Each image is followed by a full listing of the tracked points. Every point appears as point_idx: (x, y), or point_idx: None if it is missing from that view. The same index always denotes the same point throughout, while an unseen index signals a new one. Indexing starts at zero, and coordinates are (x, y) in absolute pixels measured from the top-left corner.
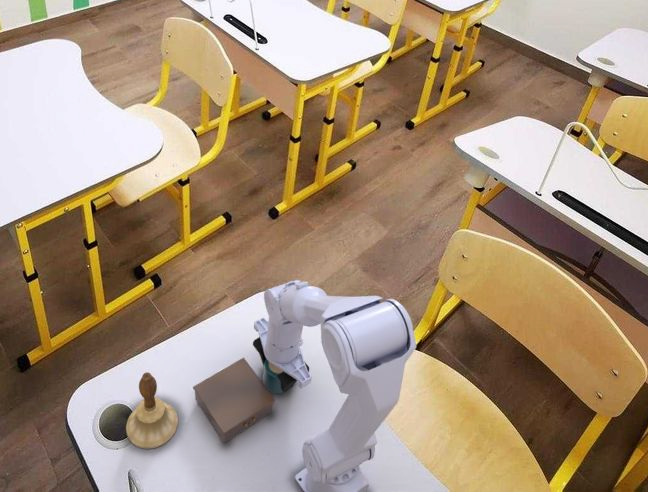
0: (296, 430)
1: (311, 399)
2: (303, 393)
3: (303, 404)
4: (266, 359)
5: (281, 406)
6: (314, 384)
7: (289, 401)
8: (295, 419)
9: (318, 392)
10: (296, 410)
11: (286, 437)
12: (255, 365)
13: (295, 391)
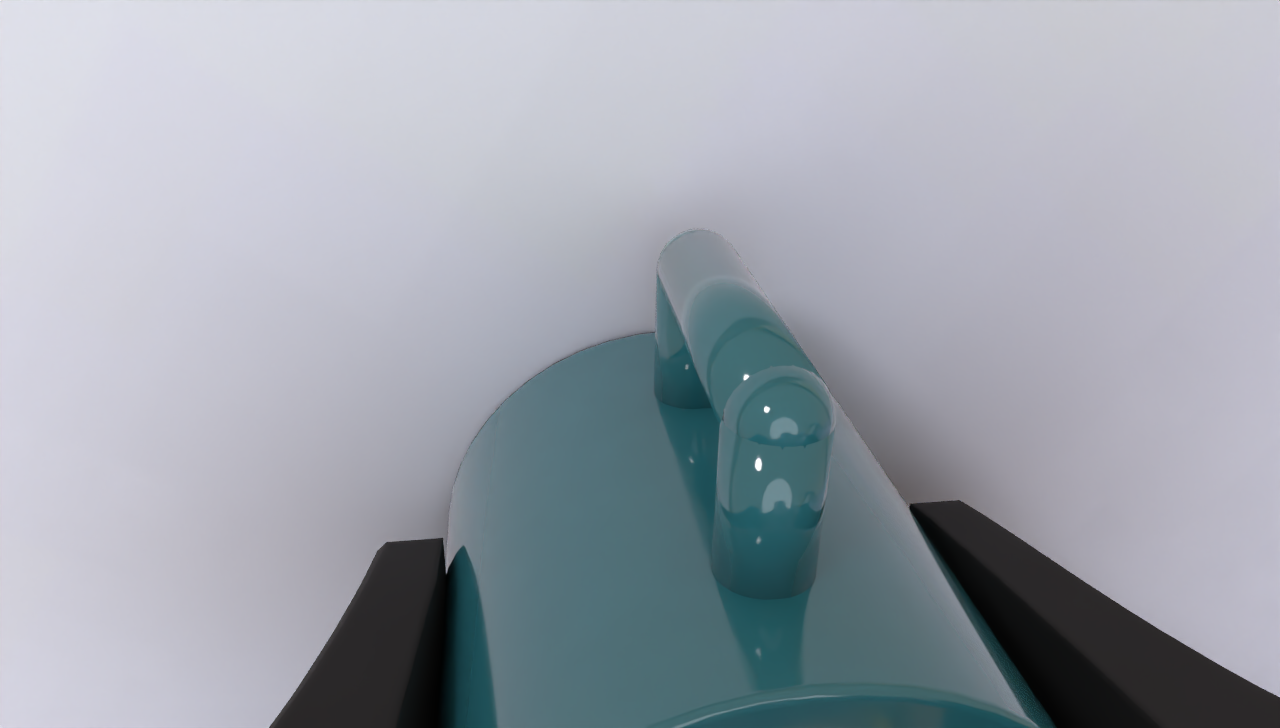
0: (1269, 611)
1: (1191, 289)
2: (1050, 331)
3: (1149, 411)
4: None
5: None
6: (1080, 110)
7: None
8: (1188, 569)
9: (1209, 140)
10: (1130, 513)
11: None
12: (295, 643)
13: (950, 403)
